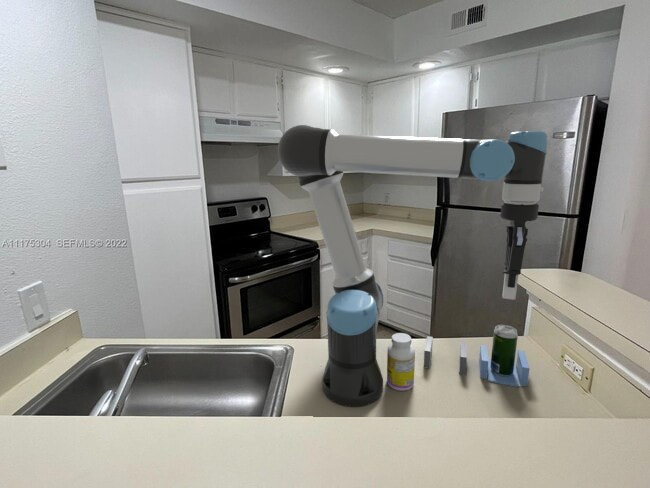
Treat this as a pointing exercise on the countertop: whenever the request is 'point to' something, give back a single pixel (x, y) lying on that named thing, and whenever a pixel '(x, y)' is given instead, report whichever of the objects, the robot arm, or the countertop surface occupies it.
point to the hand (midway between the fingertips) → (508, 297)
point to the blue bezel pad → (495, 378)
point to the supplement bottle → (400, 362)
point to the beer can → (504, 350)
